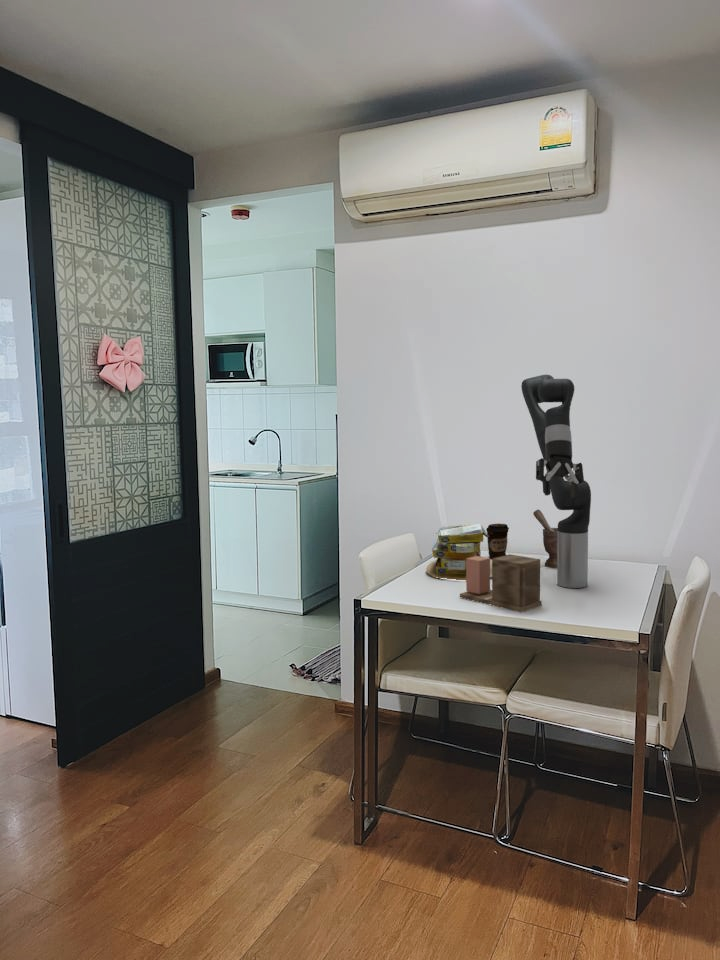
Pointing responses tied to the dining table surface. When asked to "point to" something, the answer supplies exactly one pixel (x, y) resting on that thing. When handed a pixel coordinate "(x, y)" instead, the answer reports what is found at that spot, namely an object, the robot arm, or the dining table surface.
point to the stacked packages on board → (456, 550)
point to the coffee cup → (497, 540)
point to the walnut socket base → (512, 584)
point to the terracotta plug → (478, 574)
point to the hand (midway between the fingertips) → (560, 496)
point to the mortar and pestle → (548, 539)
